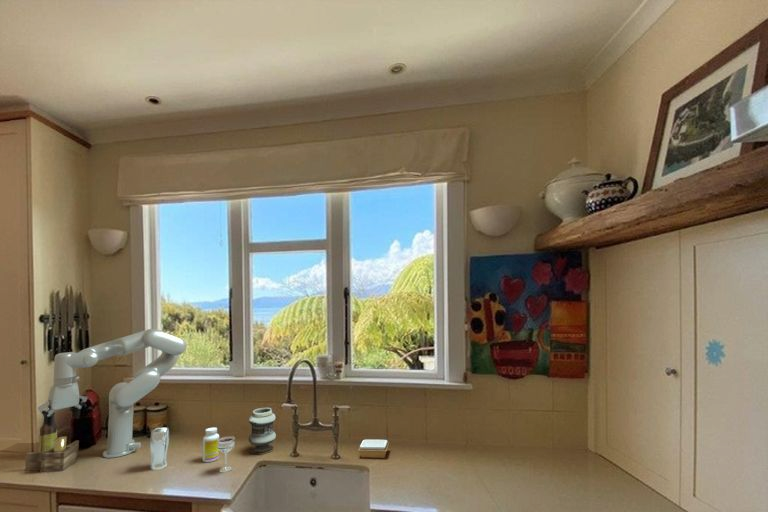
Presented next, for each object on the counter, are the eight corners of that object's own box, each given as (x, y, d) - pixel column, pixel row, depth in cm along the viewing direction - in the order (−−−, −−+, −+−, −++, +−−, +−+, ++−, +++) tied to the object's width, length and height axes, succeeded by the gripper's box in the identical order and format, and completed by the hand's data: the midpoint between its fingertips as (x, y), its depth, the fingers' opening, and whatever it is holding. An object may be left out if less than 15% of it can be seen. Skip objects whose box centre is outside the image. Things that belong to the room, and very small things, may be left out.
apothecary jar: (243, 455, 172) (244, 413, 174) (255, 444, 184) (256, 406, 186) (269, 455, 170) (269, 413, 172) (279, 445, 182) (280, 406, 184)
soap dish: (389, 450, 173) (389, 439, 174) (386, 459, 164) (386, 447, 164) (362, 450, 175) (362, 438, 176) (358, 458, 165) (358, 446, 166)
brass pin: (66, 465, 166) (68, 436, 167) (60, 469, 162) (62, 439, 163) (56, 465, 165) (58, 436, 166) (50, 469, 161) (52, 440, 162)
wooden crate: (86, 455, 176) (87, 438, 177) (63, 470, 160) (64, 452, 161) (46, 458, 173) (47, 441, 174) (18, 474, 157) (19, 456, 158)
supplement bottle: (221, 459, 168) (222, 428, 169) (206, 464, 163) (206, 432, 165) (215, 455, 172) (215, 425, 174) (199, 459, 168) (200, 429, 169)
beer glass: (148, 471, 157) (150, 433, 159) (149, 465, 163) (151, 428, 165) (167, 468, 160) (169, 430, 162) (168, 462, 166) (169, 426, 168)
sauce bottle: (60, 454, 178) (63, 410, 180) (47, 460, 171) (50, 414, 174) (47, 454, 178) (50, 410, 180) (33, 459, 172) (37, 414, 174)
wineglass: (230, 473, 154) (230, 441, 155) (213, 473, 154) (214, 442, 156) (237, 465, 161) (237, 435, 162) (221, 465, 161) (221, 436, 162)
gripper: (83, 376, 177) (82, 414, 175) (35, 385, 162) (33, 427, 160) (91, 377, 173) (90, 416, 171) (43, 386, 158) (41, 429, 156)
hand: (63, 421), depth 166 cm, fingers open, 9 cm apart
